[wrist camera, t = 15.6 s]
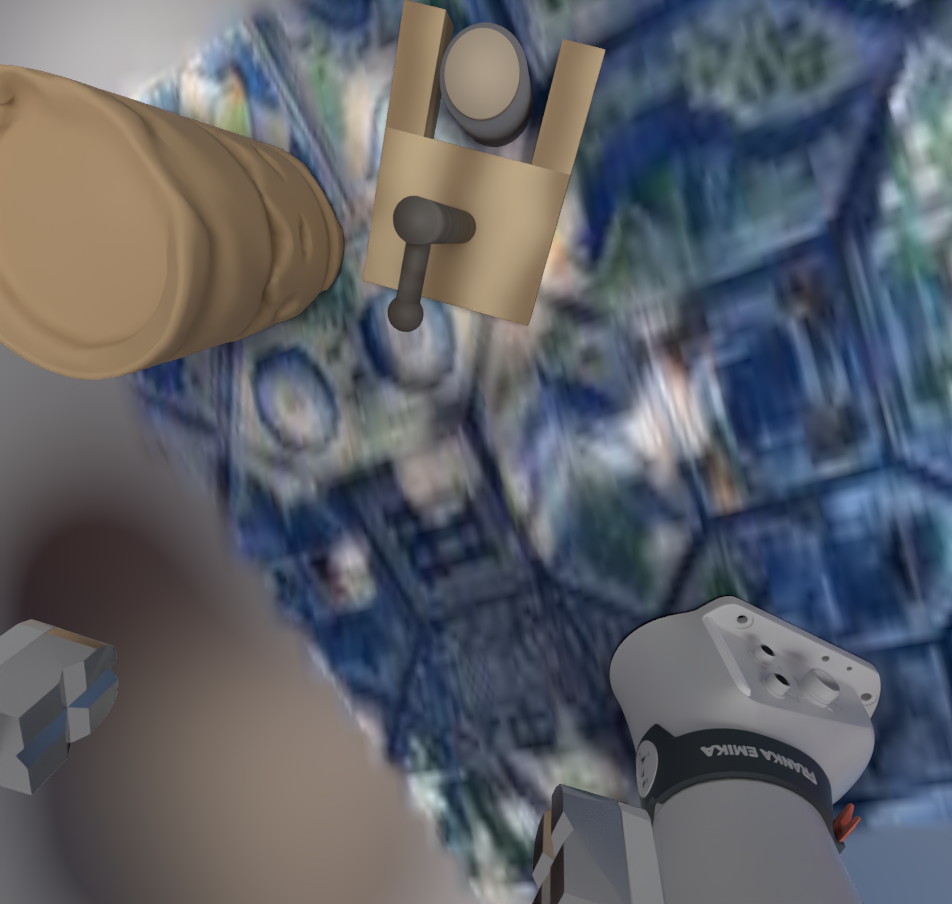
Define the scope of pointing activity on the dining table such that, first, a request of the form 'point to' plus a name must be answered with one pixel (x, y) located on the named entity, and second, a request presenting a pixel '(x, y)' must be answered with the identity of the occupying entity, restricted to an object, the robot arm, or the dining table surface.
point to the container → (145, 230)
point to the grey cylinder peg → (487, 84)
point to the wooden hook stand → (468, 188)
